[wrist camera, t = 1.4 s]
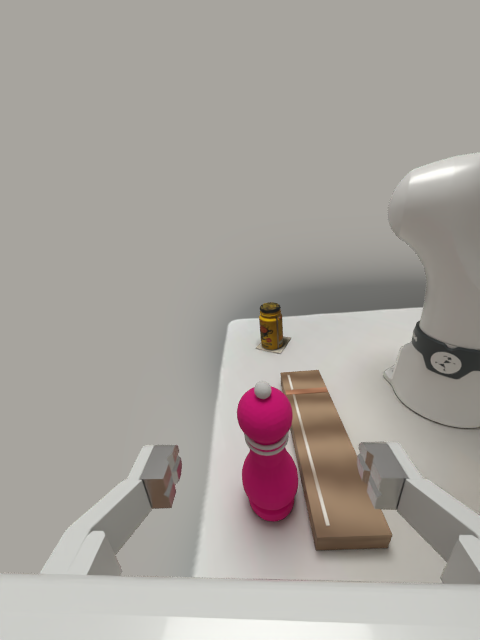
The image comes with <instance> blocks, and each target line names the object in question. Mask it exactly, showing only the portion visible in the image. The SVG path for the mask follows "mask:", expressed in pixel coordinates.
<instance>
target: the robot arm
mask: <svg viewBox="0 0 480 640" xmlns="http://www.w3.org/2000/svg"><path fill="white" fill-rule="evenodd" d="M388 220H389V224H390V226H391V229H392V230H393V232H394V233H395V234H396V236H397V237H398V238H399V239H401V240H402V241H404V242H405V243H406V244H407V245H409V246H410V247H411V248H412V249H413V250H414V251H415V253H416V254H417V256H418V257H419V259H420V261H421V263H422V265H423V267H424V271H425V275H426V293H425V300H424V306H423V311H422V315H421V319H420V321H418V322H417V324H416V327H415V329H414V331H413V337H412V341H411V342H410V343H407V344H405V345H404V346H402V347H401V348H400V351H399V354H398V357H397V360H396V364H395V365H393V366H392V367H390V368H389V369H387V370H385V372H384V375H383V376H384V377H385V379H386V380H387V381H388V382H390V383H391V385H392V386H393V389H394V391H395V393H396V395H397V396H398V398H399V399H400V400H401V401H402V402H403V403H404V404H405V405H406V406H407V407H409V408H410V409H412V410H413V411H415V412H416V413H418V414H420V415H422V416H423V417H426V418H428V419H430V420H432V421H435V422H438V423H441V424H444V425H448V426H453V427H459V428H476V427H480V152H479V153H472V154H466V155H460V156H453V157H450V158H446V159H443V160H440V161H437V162H433V163H430V164H427V165H424V166H422V167H418V168H415V169H413V170H411V171H410V172H409V173H408V174H407V175H406V176H405V177H404V178H403V179H402V181H400V183H399V184H398V185H397V187H396V189H395V190H394V192H393V194H392V197H391V199H390V202H389V207H388ZM359 450H360V452H361V453H360V454H359V455H358V456H357V467H358V471H359V474H360V477H361V479H362V481H363V482H364V483H365V484H367V485H368V488H367V493H368V495H369V498H370V500H371V502H372V504H373V507H374V509H387V510H397V512H398V513H399V514H400V515H401V516H402V517H403V518H404V519H405V520H406V521H407V522H408V523H409V524H410V525H411V526H412V527H413V528H414V529H415V530H416V531H417V532H418V533H419V534H420V535H421V536H422V537H423V538H424V539H425V540H426V541H427V542H428V543H429V544H430V545H431V546H432V547H433V548H434V549H435V550H436V551H437V553H438V554H439V555H440V556H441V557H442V558H443V559H444V560H445V561H446V562H447V564H446V566H445V568H444V571H443V573H442V575H441V580H442V582H443V584H441V583H400V582H360V581H320V580H280V579H239V578H198V577H156V576H155V577H154V576H121V573H122V569H121V566H120V564H119V562H118V560H117V558H116V556H115V555H116V554H117V553H118V552H119V550H120V549H121V548H122V547H123V545H124V544H125V543H126V542H127V540H128V539H129V538H130V537H131V535H132V534H133V533H134V532H135V530H136V529H137V528H138V527H139V525H140V524H141V523H142V522H143V521H144V519H145V518H146V517H147V516H148V514H149V513H150V512H151V511H152V509H154V508H155V509H159V508H172V504H173V500H174V497H175V493H176V489H175V485H176V484H177V483H178V481H179V479H180V476H181V469H182V463H181V458H180V457H179V456H178V453H179V449H178V446H177V445H145V446H144V447H143V448H142V449H141V451H140V453H139V455H138V457H137V459H136V461H135V463H134V466H133V467H132V470H131V471H130V474H129V475H128V478H127V480H122V481H121V482H120V483H119V484H118V485H117V486H116V487H115V488H113V489H112V490H111V491H110V492H109V493H108V494H107V495H105V496H104V497H103V498H102V499H101V500H100V501H99V502H97V503H96V504H95V505H94V506H93V507H91V508H90V509H89V510H88V511H87V512H86V513H85V514H84V515H82V516H81V517H80V518H79V519H78V520H77V521H75V522H74V523H73V524H72V525H71V526H70V527H69V528H67V529H66V531H65V533H64V534H63V536H62V538H61V539H60V541H59V542H58V545H57V546H56V547H55V549H54V551H53V552H52V554H51V556H50V558H49V559H48V561H47V562H46V564H45V565H44V567H43V569H42V570H41V572H40V574H31V573H0V640H480V515H478V514H477V513H475V512H474V511H473V510H471V509H470V508H468V507H467V506H465V505H464V504H463V503H461V502H460V501H458V500H457V499H456V498H454V497H453V496H451V495H450V494H449V493H447V492H446V491H444V490H443V489H442V488H440V487H439V486H437V485H436V484H434V483H433V482H432V481H430V480H429V479H424V478H423V477H422V475H421V474H420V472H419V471H418V469H417V468H416V466H415V465H414V463H413V462H412V461H411V459H410V458H409V456H408V455H407V453H406V452H405V450H404V449H403V447H402V446H401V445H400V443H398V442H361V443H360V444H359Z"/></svg>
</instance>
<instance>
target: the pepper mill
mask: <svg viewBox="0 0 480 640" xmlns="http://www.w3.org/2000/svg"><path fill="white" fill-rule="evenodd" d="M237 418H238V422H239V425H240V428H241V429H242V431H243V432H244V434H245V441H246V443H247V445H248V447H249V448H250V452H249V454H248V455H247V457H246V459H245V461H244V465H243V469H242V481H243V487H244V490H245V492H246V494H247V496H248V498H249V501H250V505H251V507H252V509H253V510H254V512H255V513H256V514H257V515H258V516H259V517H261V518H262V519H264V520H267V521H279V520H282V519H284V518H285V517H286V516H287V515H288V514H289V513H290V512H291V510H292V508H293V505H294V496H295V494H296V492H297V488H298V474H297V468H296V466H295V463H294V461H293V459H292V457H291V456H290V454H289V453H288V452H287V451H286V449H285V446H286V445H287V442H288V437H289V435H288V431H289V429H290V427H291V425H292V420H293V412H292V407H291V404H290V402H289V400H288V398H287V397H286V395H285V394H284V393H283V392H281V391H280V390H278V389H276V388H274V387H271V386H270V385H269V384H268V383H267V382H264V381H261V382H258V383H257V384H256V385H255V387H254V388H252V389H250V390H249V391H247V392H246V393H245V394H244V395H243V396H242V398H241V400H240V401H239V404H238V409H237Z"/></svg>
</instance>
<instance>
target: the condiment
mask: <svg viewBox="0 0 480 640" xmlns="http://www.w3.org/2000/svg"><path fill="white" fill-rule="evenodd" d="M259 320H260V334H261V343H260V344H259V345H258V346H257V347H256V348H257V349H261V350H265V351H270V352H276V353H280V354H281V352H282V351H283V349H284V348H285V346H286V345H287V343H288V342H289V340H290V339H291V337H283V327H282V314H281V311H280V305H278V304H277V303H265V304H263V305H261V307H260V317H259Z"/></svg>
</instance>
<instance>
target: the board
mask: <svg viewBox="0 0 480 640" xmlns="http://www.w3.org/2000/svg"><path fill="white" fill-rule="evenodd" d="M281 386H282V390H283V393H284V394H285V395H286V397H287V398H288V400H289V402H290V404H291V407H292V412H293V420H292V425H291V427H290V428H291V433H292V438H293V443H294V448H295V452H296V457H297V462H298V467H299V471H300V476H301V481H302V486H303V491H304V495H305V500H306V505H307V510H308V514H309V519H310V524H311V529H312V534H313V538H314V543H315V548H316V550H341V549H372V548H388V546H389V543H390V540H391V537H392V533H391V531H390V528H389V526H388V524H387V522H386V520H385V517H384V515H383V513H382V511H381V509H374V507H373V504H372V502H371V500H370V498H369V495H368V493H367V488H368V485H367V484H365V483H364V482H363V481H362V479H361V477H360V474H359V471H358V467H357V455H356V453H355V450H354V448H353V446H352V444H351V441H350V439H349V437H348V435H347V433H346V430H345V428H344V426H343V424H342V421H341V419H340V417H339V415H338V412H337V410H336V408H335V406H334V404H333V401H332V399H331V397H330V395H329V392H328V390H327V388H326V386H325V383H324V381H323V379H322V377H321V375H320V372H319V370H311V371H297V372H284V373H281Z"/></svg>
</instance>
